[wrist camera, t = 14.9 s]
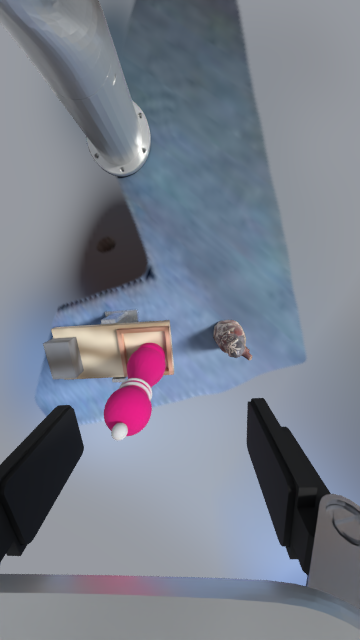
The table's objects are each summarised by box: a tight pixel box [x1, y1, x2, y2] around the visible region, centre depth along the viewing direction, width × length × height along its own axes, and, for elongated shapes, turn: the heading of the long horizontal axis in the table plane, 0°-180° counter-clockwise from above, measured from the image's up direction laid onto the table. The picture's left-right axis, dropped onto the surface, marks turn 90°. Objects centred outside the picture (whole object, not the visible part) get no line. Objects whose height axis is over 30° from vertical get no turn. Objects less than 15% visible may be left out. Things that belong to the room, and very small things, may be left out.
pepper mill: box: [104, 343, 166, 441], centre depth 30 cm, size 7×7×20 cm
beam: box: [43, 320, 174, 379], centre depth 39 cm, size 12×25×4 cm, turn 94°
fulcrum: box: [101, 309, 139, 382], centre depth 43 cm, size 15×8×8 cm, turn 4°
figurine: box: [213, 320, 252, 360], centre depth 40 cm, size 7×7×12 cm
